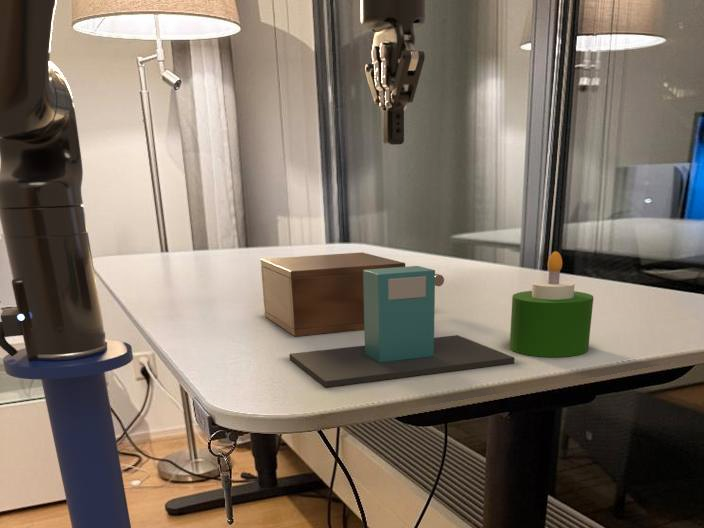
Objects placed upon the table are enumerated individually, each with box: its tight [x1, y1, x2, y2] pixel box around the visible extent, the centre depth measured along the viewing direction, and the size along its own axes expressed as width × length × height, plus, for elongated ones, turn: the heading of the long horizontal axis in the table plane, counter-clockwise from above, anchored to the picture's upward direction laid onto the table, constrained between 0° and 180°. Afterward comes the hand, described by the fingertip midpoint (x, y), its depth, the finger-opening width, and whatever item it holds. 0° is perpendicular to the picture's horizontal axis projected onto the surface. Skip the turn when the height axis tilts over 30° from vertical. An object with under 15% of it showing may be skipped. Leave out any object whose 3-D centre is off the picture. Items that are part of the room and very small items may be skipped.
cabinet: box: [260, 252, 406, 337], centre depth 94 cm, size 15×15×8 cm
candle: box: [509, 250, 594, 358], centre depth 76 cm, size 8×8×10 cm
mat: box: [289, 334, 515, 388], centre depth 74 cm, size 20×12×1 cm, turn 111°
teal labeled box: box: [363, 265, 436, 363], centre depth 72 cm, size 6×4×8 cm
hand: (393, 144), depth 90 cm, fingers closed
